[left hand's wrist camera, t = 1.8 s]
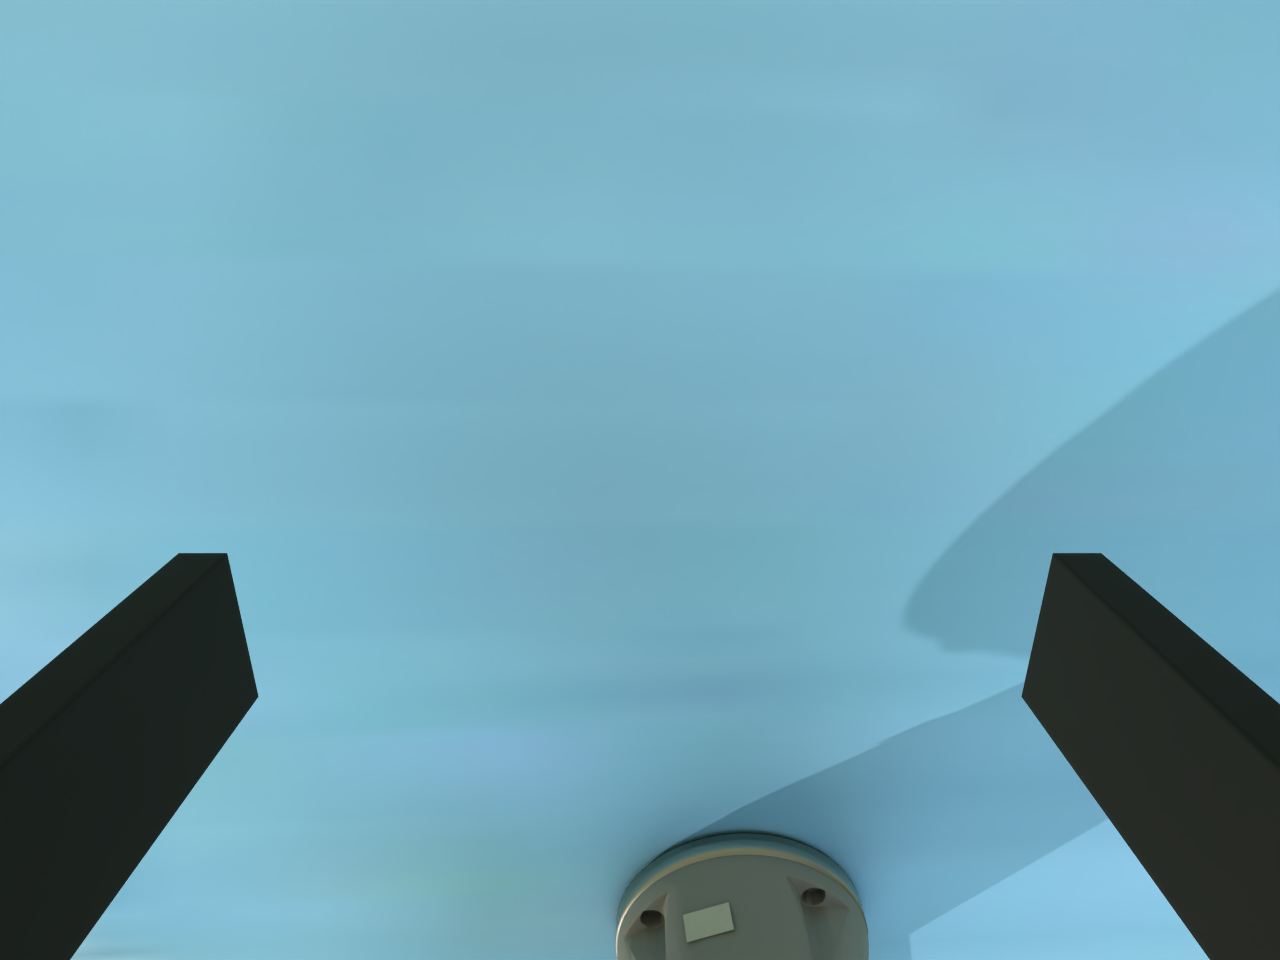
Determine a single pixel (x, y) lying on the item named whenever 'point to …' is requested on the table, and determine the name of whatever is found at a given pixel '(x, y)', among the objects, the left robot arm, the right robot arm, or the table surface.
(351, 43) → the table surface
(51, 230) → the table surface
